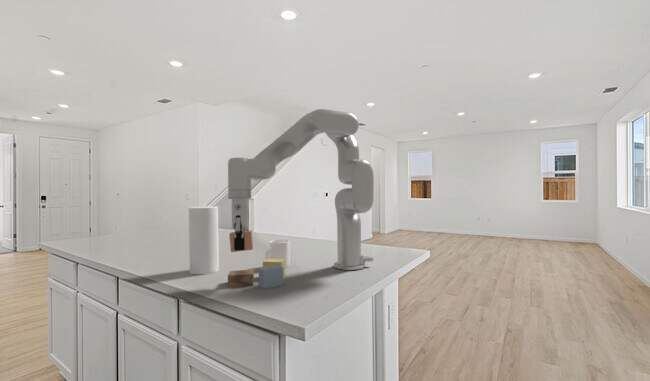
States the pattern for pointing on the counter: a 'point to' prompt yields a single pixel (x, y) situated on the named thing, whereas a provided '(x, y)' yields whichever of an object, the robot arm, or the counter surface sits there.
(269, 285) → the slate brick
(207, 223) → the tall pillar cylinder
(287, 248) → the mug
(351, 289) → the counter surface
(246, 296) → the counter surface
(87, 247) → the counter surface
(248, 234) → the terracotta brick
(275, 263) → the mustard brick
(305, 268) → the counter surface
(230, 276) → the walnut block
